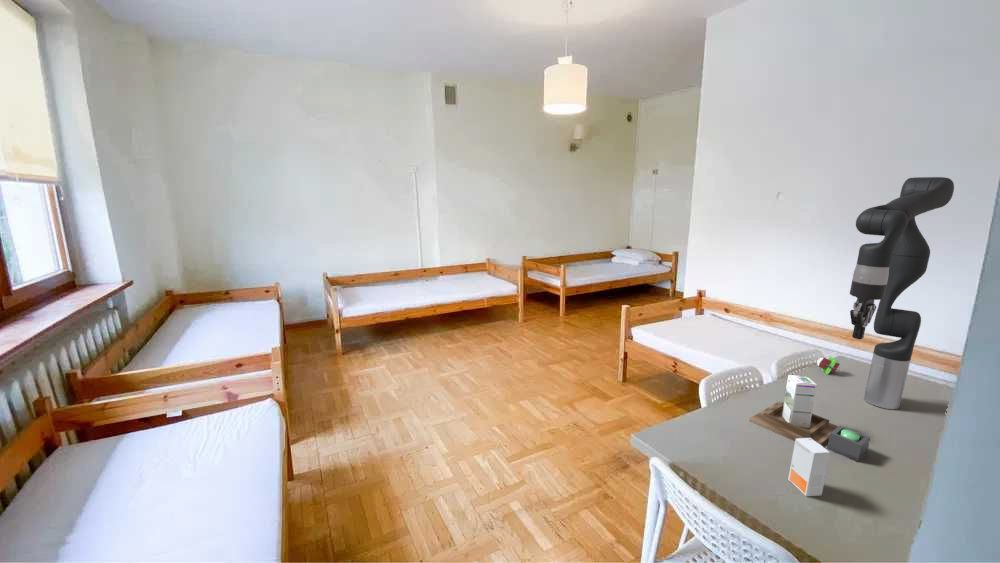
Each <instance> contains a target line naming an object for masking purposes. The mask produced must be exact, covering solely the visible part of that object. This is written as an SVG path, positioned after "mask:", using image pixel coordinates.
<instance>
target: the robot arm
mask: <svg viewBox="0 0 1000 563" xmlns="http://www.w3.org/2000/svg"><path fill="white" fill-rule="evenodd" d="M954 191H955V184H954V182H953V180H952V179H951V178H949V177H944V176H943V177H942V176H930V177H929V176H926V177H925V176H923V177H909V178H907V179H906V180H905V181H904V183H903V185H902V187H901V190H900V194H899V197H897V198H895V199H893V200H891V201H889V202H887V203H886V204H880V205H876V206H872V207H868V208H867V209H865V210H863V211H862V212H861V213H860V214H859V215H858V216H857V218H856V220H855V227H856V230H857V231H858V232H859V233H861V234H864V235H870V236H871V235H872V236H880V237H881V236H882V237H884V238H883V239H882V240H881V241H879V242H875V243H874V242H870V243H869V242H868V243H864V244H862V245H860V247H859V250H858V255H857V260H856V264H855V268H854V270H853V274H852V279H851V285H850V289H849V295H850V296H852V297H855V298H856V301H855V302H853V306H852V308H853V309H851V310H850V311H849V313H850V314H849V315H850V323H851V325H853V330H852V335H851V336H852V339H855V340H862V339H864V337H865V332H866V327H868V324H870V323H871V321H872V319H873V316H874V314H875V316H874V319H873V320H874V321H873V330H874V332H875V333H876V334H877V335H882V336H888V337H894V338H900V339H898V340H893V341H890V342H880V343H877V344H876V345H875V346H874V348H873V352H872V358H871V363H870V367H869V371H868V376H867V380H866V384H865V385H866V387H865V391H864V393H863V394H864V396H863V400H865V401H866V403H868V404H870V405H873V406H876V407H879V408H882V409H887V410H898V409H900V406H901V402H902V398H903V394H904V389H905V385H906V381H907V377H908V373H909V368H910V364H911V361H912V360H911V359H912V356H913V352H914V347H915V343H916V341H917V339H918V338H917V337H918V335H919V331H920V328H921V324H922V316H921V314H920V313H919V312H918V311H914V310H908V309H901V308H899V309H898V308H892V307H893V305H894V303H895V301H896V300H897V299H898V297H899V296H900V295H901V294H902V293H903V292H904V291H906V290H907V289H908V288H909V287H910V286H912V285H914V283H916V282H917V281H918V280H919V279H920V278H922V277H923V275H924V274H925V273H926V271H927V269H928V264H929V261H930V256H931V249H930V246H929V244H928V242H927V240H926V238H925V237H924V236H923V234H922V232H921V231H920V229H919V226H918V225H917V222H916V217H917V216H919V215H921V214H922V215H923V214H925V213H927V212H930V211H932V210H935V209H936V210H937V209H940V208H943V207H945V206H947V205H948V204H949V203H950V201H951V199H952V198H953V196H954ZM876 300H877V301H879V302H878V306H877V305H876V304H875V301H876ZM875 312H876V313H875Z"/></svg>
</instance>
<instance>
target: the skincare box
mask: <svg viewBox="0 0 1000 563" xmlns="http://www.w3.org/2000/svg"><path fill="white" fill-rule="evenodd" d="M791 456H792V457H791V461H790V468H789V473H788V477H787V478H788V479H787V480H788V481H789V482H790V483H791V484H792V485H793V486H794V487H796V489H798V490H799V491H800V492H801V493H802V494H803V495H804V496H805V497H818V496H819V497H820V496H822V495H823V491H824V490H823V489H824V486H825V481H826V480H825V479H826V476H827V471H828V466H829V460H830V456H831V452H830V450H829V449H827V448H825V447H824V446H823V445H820V444H819V443H817V442H816V441H814V440H813V439H811V438H797V439H796V440H795V441H794V446H793V449H792V455H791Z"/></svg>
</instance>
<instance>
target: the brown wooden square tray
mask: <svg viewBox="0 0 1000 563" xmlns="http://www.w3.org/2000/svg"><path fill="white" fill-rule="evenodd" d="M783 406H784V401H783V402H780V403H779V402H776V403H773V404H771V405H770V406H768V407H766V408H765V409H763V410H761V411H760V412H758V413H757V414H754V415H753V416H751V417H750V418H749V422H750V423H753V422H754V423H753V424H755V423H756V425H757V424H758V426H760V427H762V428H765V429H766V428H767V430H769V431H771V432H773V433H775V434H778V435H781V436H782V437H785V438H787V439H790V440H791V441H793V442H795V440H796V439H797V438H811V439H813V440H814V441H816V442H817V443H819V444H820V445H822V446H823V445H824V444H825V443H827V442H828V441H829V436H830V433H831V432H832V431H833V430H835V429H836V428H837V427H839V426H840V425H836V424H834V423H832V422H830V419H827V418H826V417H823V416H820V415H817V414H814V413H812V416H811V422H810V427H809V428H804V427H798V426H796V425H793V424H791V423H788V422H786V421H785V420H784V418H783V417H782V412H783Z"/></svg>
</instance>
